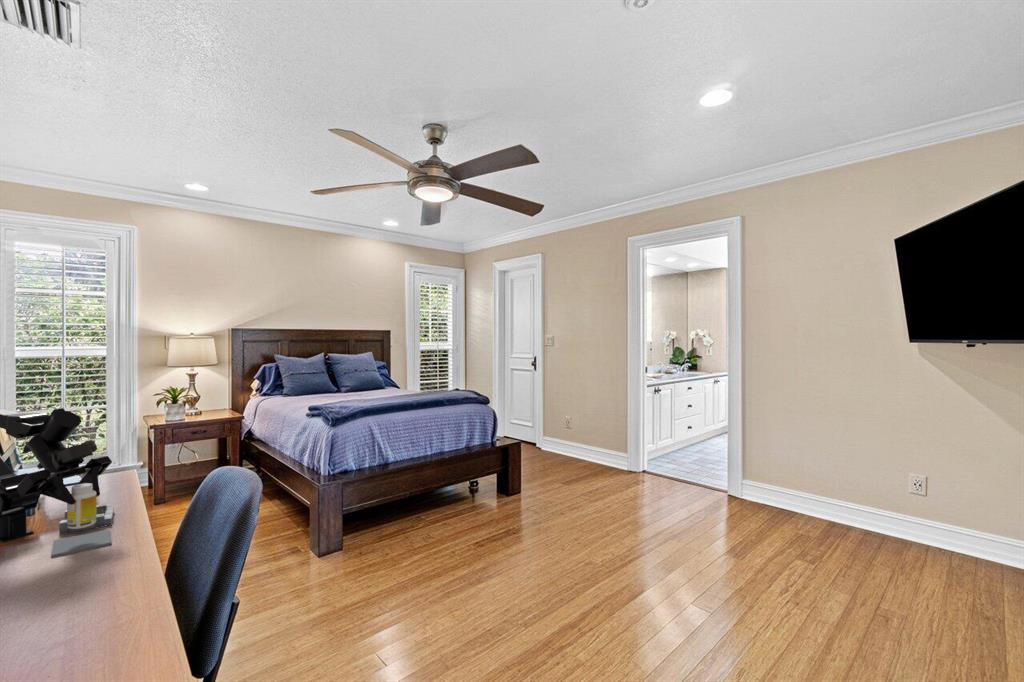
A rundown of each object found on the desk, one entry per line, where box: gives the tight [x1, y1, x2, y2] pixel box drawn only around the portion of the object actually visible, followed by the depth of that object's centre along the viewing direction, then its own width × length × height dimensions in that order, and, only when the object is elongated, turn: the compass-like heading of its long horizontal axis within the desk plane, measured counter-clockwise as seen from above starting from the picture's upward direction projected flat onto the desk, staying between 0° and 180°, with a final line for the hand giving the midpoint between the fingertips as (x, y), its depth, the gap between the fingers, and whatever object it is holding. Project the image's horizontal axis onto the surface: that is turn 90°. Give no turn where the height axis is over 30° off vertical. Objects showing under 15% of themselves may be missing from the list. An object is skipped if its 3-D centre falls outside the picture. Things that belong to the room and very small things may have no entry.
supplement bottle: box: [66, 483, 98, 529], centre depth 122 cm, size 6×6×10 cm
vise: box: [58, 502, 115, 535], centre depth 134 cm, size 17×11×3 cm, turn 37°
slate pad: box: [50, 529, 112, 558], centre depth 122 cm, size 11×11×1 cm
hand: (86, 499), depth 121 cm, fingers closed on supplement bottle, 5 cm apart
